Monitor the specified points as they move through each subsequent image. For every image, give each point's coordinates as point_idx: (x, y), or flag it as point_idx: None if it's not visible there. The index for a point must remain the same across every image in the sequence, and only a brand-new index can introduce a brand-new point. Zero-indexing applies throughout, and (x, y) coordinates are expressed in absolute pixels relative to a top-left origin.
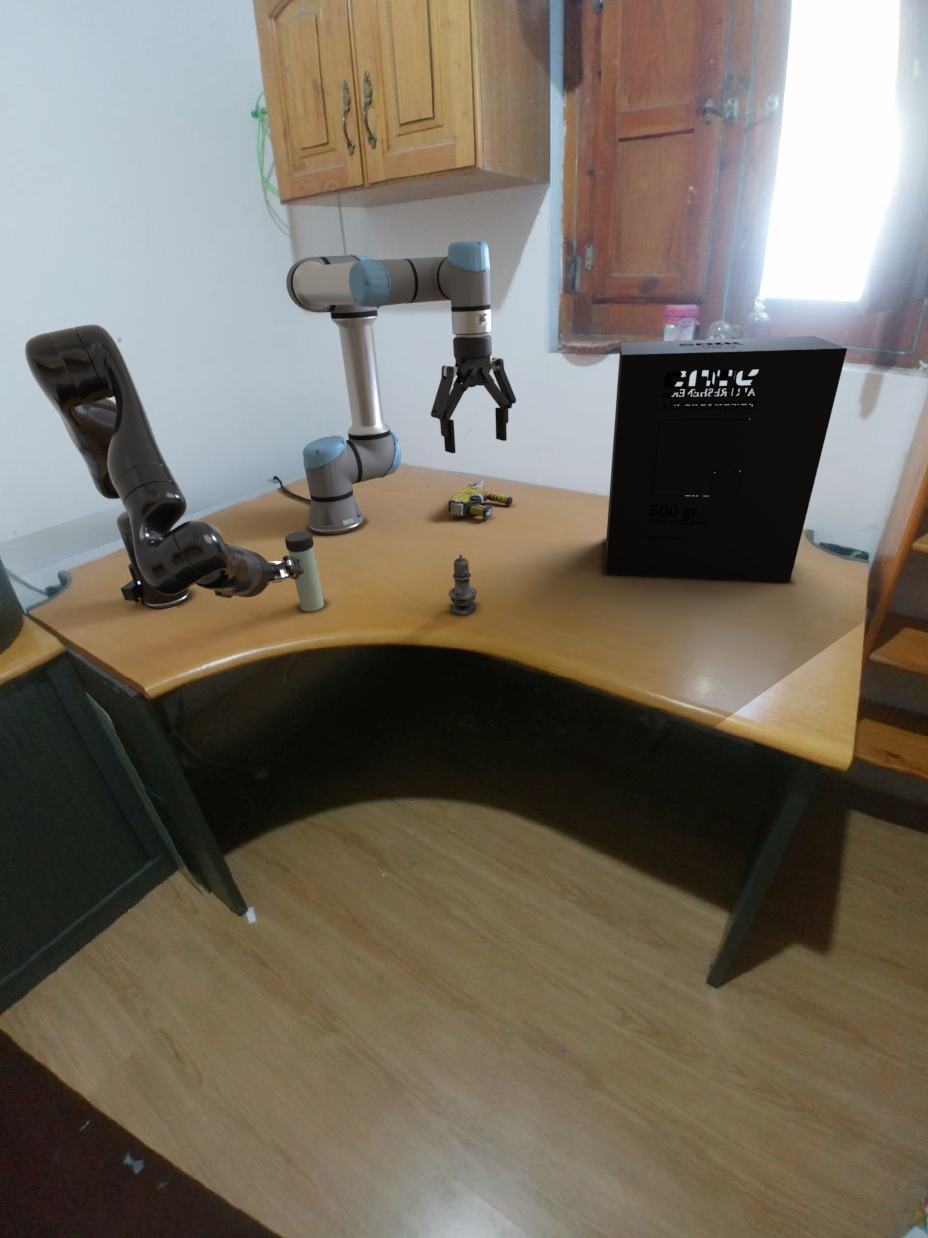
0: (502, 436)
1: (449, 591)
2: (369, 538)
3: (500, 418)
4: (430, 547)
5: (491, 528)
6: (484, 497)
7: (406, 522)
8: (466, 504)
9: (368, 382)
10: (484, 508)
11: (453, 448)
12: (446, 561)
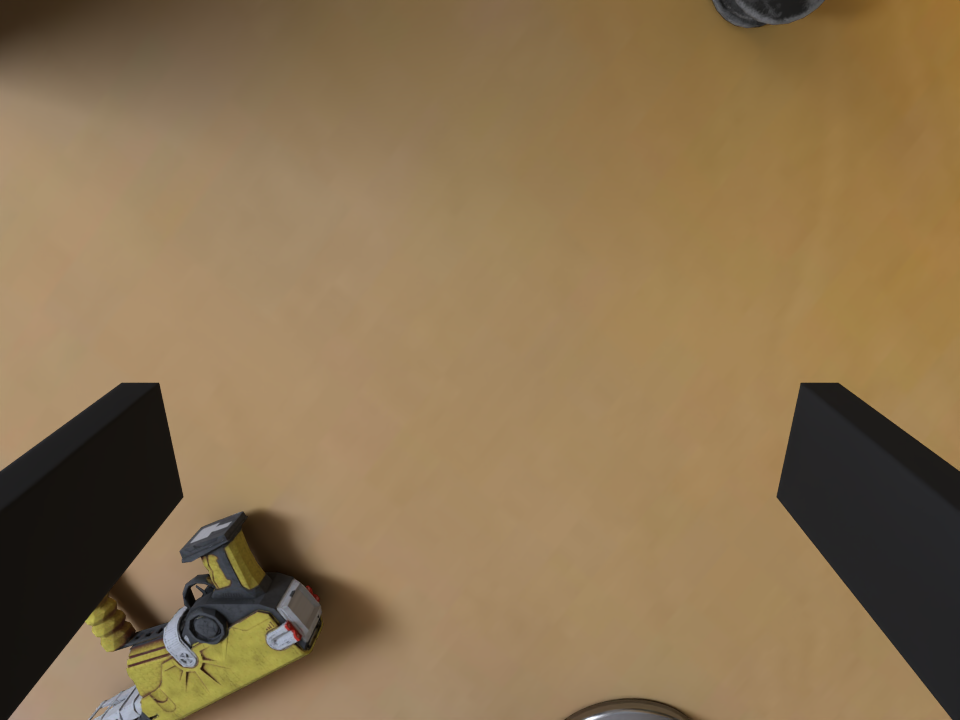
0: (140, 425)
1: (815, 6)
2: (613, 630)
3: (10, 584)
4: (515, 463)
5: (256, 456)
6: (152, 635)
7: (454, 658)
8: (265, 602)
9: None
10: (220, 548)
11: (850, 402)
12: (545, 341)
